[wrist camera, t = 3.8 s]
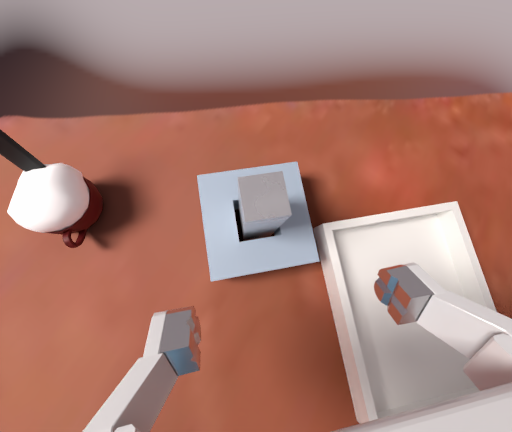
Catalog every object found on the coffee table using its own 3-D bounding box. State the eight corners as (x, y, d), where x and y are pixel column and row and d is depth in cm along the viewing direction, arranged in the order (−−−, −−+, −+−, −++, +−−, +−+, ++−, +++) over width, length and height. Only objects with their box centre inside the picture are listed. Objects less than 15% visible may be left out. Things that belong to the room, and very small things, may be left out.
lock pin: (265, 209, 26) (282, 170, 15) (270, 235, 25) (291, 214, 14) (239, 213, 25) (237, 177, 15) (243, 240, 25) (245, 222, 14)
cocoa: (106, 249, 24) (-16, 245, 12) (42, 245, 24) (-150, 239, 12) (119, 164, 26) (22, 89, 14) (59, 159, 25) (-94, 77, 13)
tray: (433, 207, 27) (456, 201, 24) (492, 384, 23) (528, 401, 20) (313, 228, 26) (322, 223, 23) (356, 419, 22) (374, 443, 19)
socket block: (288, 176, 27) (297, 161, 23) (307, 261, 25) (319, 261, 21) (203, 188, 26) (196, 175, 22) (215, 278, 24) (211, 281, 20)
